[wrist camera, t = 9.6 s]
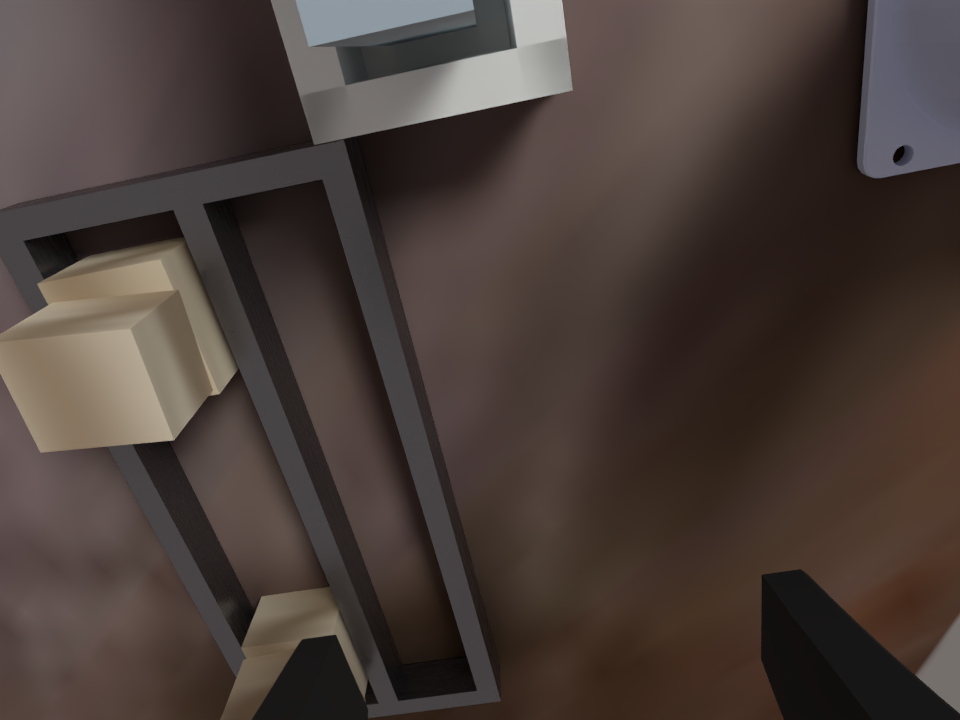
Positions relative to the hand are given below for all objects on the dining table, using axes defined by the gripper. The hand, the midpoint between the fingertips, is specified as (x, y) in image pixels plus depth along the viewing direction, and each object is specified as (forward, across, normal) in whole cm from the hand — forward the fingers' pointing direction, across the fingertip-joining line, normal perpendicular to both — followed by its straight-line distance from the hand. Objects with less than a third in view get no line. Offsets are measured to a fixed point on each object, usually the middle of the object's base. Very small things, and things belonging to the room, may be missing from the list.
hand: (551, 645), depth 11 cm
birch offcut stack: (+10, +10, -4) cm, 15 cm away
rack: (+10, +8, +3) cm, 13 cm away
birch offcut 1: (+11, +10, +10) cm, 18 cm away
